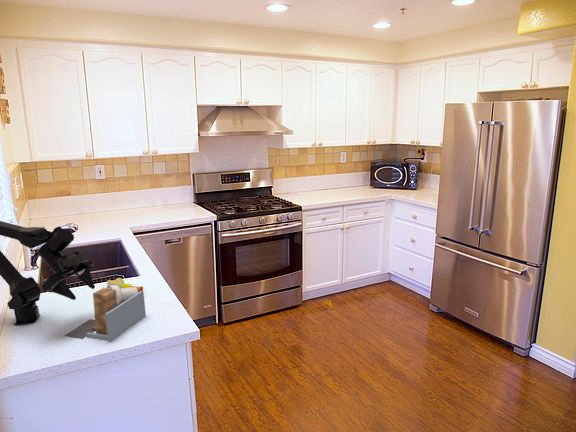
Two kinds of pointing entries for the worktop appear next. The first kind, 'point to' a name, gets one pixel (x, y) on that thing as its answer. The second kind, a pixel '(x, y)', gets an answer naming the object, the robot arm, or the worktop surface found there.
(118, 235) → the worktop surface
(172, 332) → the worktop surface
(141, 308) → the lane rack
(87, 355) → the worktop surface
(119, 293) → the spotlight
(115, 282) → the toy
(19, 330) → the worktop surface
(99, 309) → the oak block
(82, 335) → the mat
